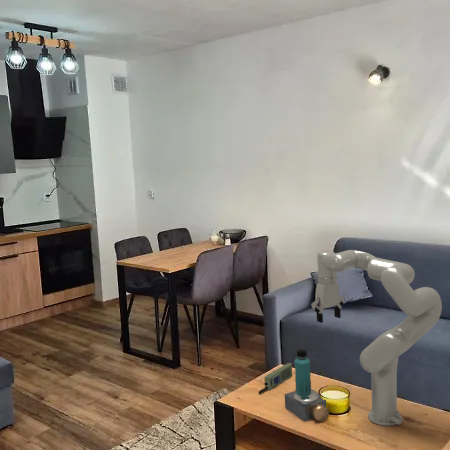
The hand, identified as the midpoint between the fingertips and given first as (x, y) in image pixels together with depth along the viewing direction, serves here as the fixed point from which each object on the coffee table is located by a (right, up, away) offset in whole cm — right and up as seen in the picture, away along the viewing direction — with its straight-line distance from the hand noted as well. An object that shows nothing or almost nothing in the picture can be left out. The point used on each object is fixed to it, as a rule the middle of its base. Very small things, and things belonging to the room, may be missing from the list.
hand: (328, 319), depth 217 cm
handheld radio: (-20, -35, +23) cm, 47 cm away
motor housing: (-9, -37, -5) cm, 39 cm away
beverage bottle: (-12, -31, -5) cm, 34 cm away
